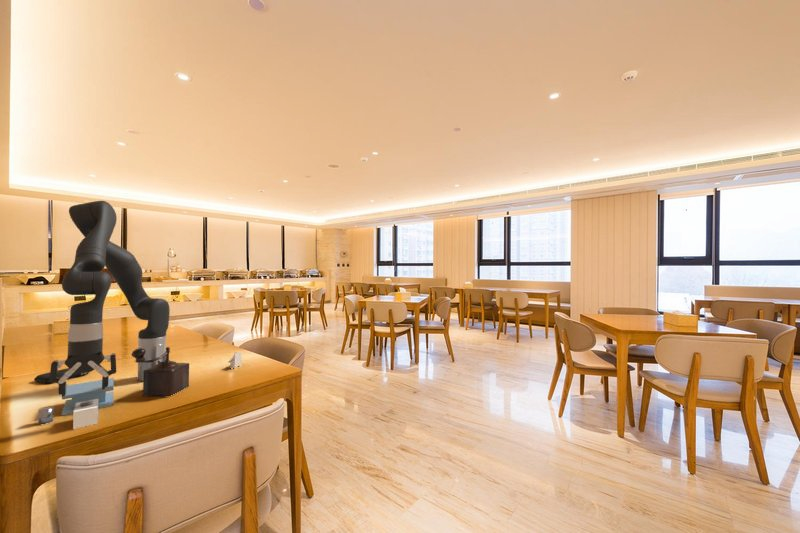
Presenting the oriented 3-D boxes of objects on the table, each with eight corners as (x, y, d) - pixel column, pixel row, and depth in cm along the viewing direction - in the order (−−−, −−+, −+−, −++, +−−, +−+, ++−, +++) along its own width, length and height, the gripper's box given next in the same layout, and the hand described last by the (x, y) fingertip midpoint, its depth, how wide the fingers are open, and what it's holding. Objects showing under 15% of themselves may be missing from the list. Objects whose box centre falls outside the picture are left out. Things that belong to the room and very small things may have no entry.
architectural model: (227, 369, 148) (227, 353, 148) (235, 365, 155) (236, 349, 155) (234, 370, 147) (234, 354, 147) (242, 365, 154) (243, 350, 154)
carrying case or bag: (48, 386, 125) (94, 374, 139) (48, 378, 125) (94, 367, 139) (31, 383, 128) (77, 371, 142) (31, 375, 128) (78, 365, 142)
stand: (113, 394, 117) (113, 377, 117) (113, 405, 108) (113, 387, 108) (66, 403, 109) (66, 385, 109) (61, 415, 100) (61, 396, 100)
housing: (75, 419, 98) (76, 400, 98) (98, 414, 101) (98, 396, 101) (73, 429, 92) (73, 409, 92) (97, 424, 95) (97, 405, 95)
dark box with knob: (162, 385, 126) (163, 339, 126) (189, 386, 126) (190, 340, 126) (127, 402, 111) (128, 349, 111) (158, 403, 110) (159, 350, 110)
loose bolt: (53, 418, 98) (54, 405, 98) (52, 422, 96) (52, 409, 96) (39, 422, 96) (39, 408, 96) (37, 425, 94) (37, 412, 94)
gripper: (117, 333, 104) (115, 383, 104) (53, 338, 95) (51, 394, 95) (117, 337, 98) (115, 390, 98) (49, 343, 89) (46, 402, 89)
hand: (84, 392), depth 96 cm, fingers open, 8 cm apart
